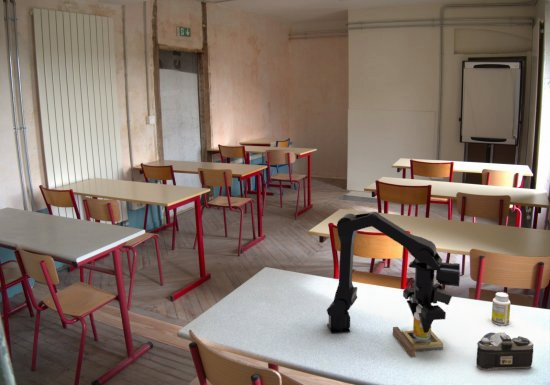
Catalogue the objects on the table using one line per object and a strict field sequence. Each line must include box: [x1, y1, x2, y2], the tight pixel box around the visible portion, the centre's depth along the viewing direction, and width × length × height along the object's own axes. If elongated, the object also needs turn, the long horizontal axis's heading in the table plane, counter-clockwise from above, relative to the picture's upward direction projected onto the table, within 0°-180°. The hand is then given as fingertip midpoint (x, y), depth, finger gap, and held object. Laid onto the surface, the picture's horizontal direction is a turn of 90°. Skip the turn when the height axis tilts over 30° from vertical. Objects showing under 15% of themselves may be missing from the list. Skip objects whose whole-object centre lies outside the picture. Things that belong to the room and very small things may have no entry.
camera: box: [476, 331, 534, 370], centre depth 143 cm, size 16×10×10 cm, turn 91°
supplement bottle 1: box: [412, 305, 432, 340], centre depth 154 cm, size 5×5×10 cm
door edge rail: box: [392, 326, 417, 358], centre depth 155 cm, size 2×15×2 cm, turn 7°
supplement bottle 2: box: [491, 291, 511, 326], centre depth 168 cm, size 6×6×10 cm
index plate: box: [401, 329, 444, 353], centre depth 155 cm, size 10×10×2 cm
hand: (422, 328), depth 155 cm, fingers closed on supplement bottle 1, 5 cm apart
